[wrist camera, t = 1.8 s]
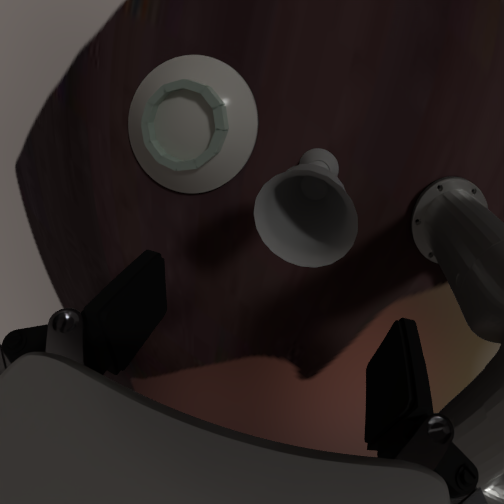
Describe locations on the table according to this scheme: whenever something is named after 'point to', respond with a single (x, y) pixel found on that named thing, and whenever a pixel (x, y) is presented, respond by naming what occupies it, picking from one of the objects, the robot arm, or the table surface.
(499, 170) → the table surface
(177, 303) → the table surface
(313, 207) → the chalice
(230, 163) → the plate
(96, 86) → the table surface
